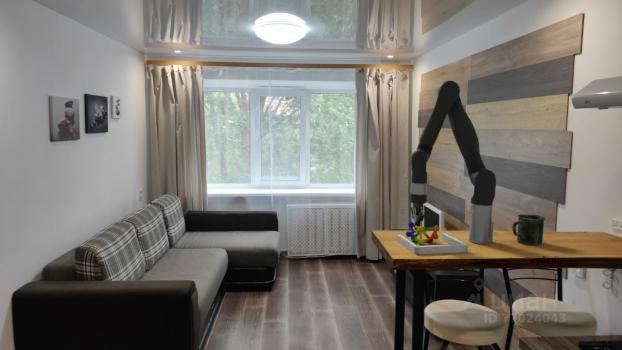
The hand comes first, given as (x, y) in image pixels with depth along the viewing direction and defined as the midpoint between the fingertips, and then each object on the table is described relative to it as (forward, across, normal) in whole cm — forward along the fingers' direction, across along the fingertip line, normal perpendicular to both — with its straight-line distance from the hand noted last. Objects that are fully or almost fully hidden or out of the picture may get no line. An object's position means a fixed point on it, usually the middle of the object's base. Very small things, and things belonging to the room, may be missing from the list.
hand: (417, 229), depth 203 cm
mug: (+4, -14, -46) cm, 49 cm away
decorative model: (+4, -8, +1) cm, 9 cm away
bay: (+4, -14, 0) cm, 15 cm away
